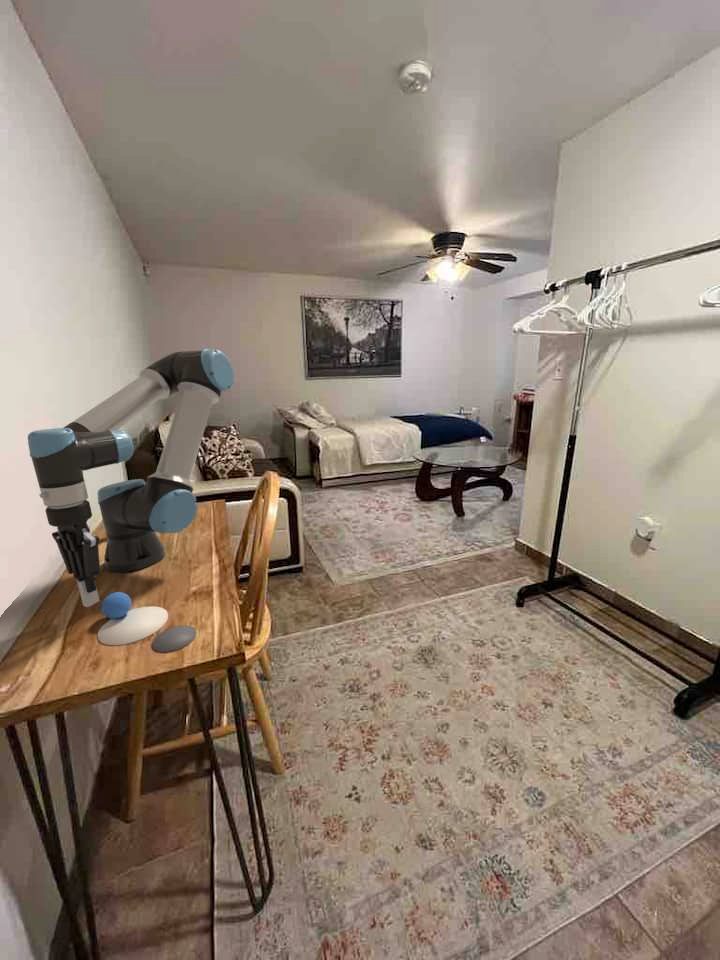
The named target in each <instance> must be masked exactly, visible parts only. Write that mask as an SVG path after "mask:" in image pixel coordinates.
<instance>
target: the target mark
mask: <svg viewBox="0 0 720 960" xmlns="http://www.w3.org/2000/svg"><path fill="white" fill-rule="evenodd" d="M168 619H169V611H168V610H166V609H165V608H163V607H160V606H141V607H137V608H133V609H130V610H129V611H128V613H127V614H126V615H124V616H123V617H120V618H117V619H111V618H110V619H109V620H108V621H107V622H105V623H104V624H103V625H101V627H100V629H99V630H98V632H97V640H98V641H99V642H100V643H101V644H103V645H108V646H123V645H127V644H132V643H135V642H139V641H141V640H144V639H146V638H148V637H151V635H153V634H155V633H156V632H158V631H159V630H161V629H162V628H163V627H164V626H165V625H166V623H167V622H168Z"/></svg>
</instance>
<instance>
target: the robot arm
mask: <svg viewBox="0 0 720 960" xmlns="http://www.w3.org/2000/svg"><path fill="white" fill-rule="evenodd" d="M234 381H235V373H234V369H233V366H232V363H231V361H230V358H229V357H227V355H226V354H225V353H224V352H222V351H221V350H219V349H209V348H203V349H201V350H186V351H175V352H172V353H170V354H167V355H165V356H162V357H161V358H160V359H158V360H156V361H154V362H153V363H151V364H150V365H149V366H147V367H145V368H144V369H142V370H141V371H140V372H139V377H137V378H136V379H135V380H133V381H132V382H130V383H129V384H127V385H125V386H124V387H122V388H121V389H120V390H118V391H117V392H115V393H114V394H112V395H110V396H109V397H108V398H106V399H105V400H102V401H101V402H100V403H99V404H97V405H96V406H94V407H92V408H91V409H89V410H88V411H86V412H85V413H84V414H82V415H80V416H79V417H78V418H76V419H74V420H73V421H72V422H70V423H68V424H66V425H65V426H64V427H60V428H59V427H56V428H46V429H39V430H38V429H37V430H33V431H31V432H29V433H28V435H27V445H28V450H29V451H28V452H29V456H30V458H31V461H32V464H33V467H34V468H33V469H34V472H35V475H36V479H37V483H38V486H39V490H40V494H39V495H38V496H39V498H41V499H42V502H43V505H44V506H45V514H46V518H47V523H48V524H49V526H51V527H57V531H54V532H52V533H51V536H52V538H53V540H54V541H55V543H56V545H57V548H58V550H59V553H60V555H61V557H62V560H63V563H64V565H65V568H66V570H67V572H68V574H69V575H72V574H73V578H74V579H76V582H77V586H78V590H79V593H80V598H81V602H82V605H83V607H86V608H89V607H91V606H93V605H95V604H97V603H99V602H100V601H101V600H100V596H99V593H98V588H97V584H96V580H95V577H96V576H98V575H100V574H101V567H100V566H101V565H100V555H99V552H100V551H99V544H100V537H99V536H98V535H95V536H93V535H92V533H90V532H91V530H90V527H89V525H88V521H89V520H90V519H91V518H92V517H93V513H92V507H91V503H90V501H88V500H87V499H88V498H89V495H88V490H87V485H86V483H85V478H84V471H88V470H92V469H97V468H101V467H105V466H109V465H115V464H116V465H117V464H120V463H123V462H126V461H128V460H131V458H132V456H133V455H134V451H135V449H134V444H133V443H134V442H133V440H132V438H131V437H130V435H129V434H128V433H127V432H125V431H123V430H120V429H121V428H122V427H124V426H125V425H126V424H128V423H129V422H130V421H132V420H133V419H135V417H137V416H138V415H140V414H141V413H142V412H144V411H145V410H147V409H148V408H149V407H150V406H151V405H153V404H154V403H156V402H157V401H159V400H165V399H168V397H170V396H171V395H175V394H178V393H180V396H179V400H178V402H177V405H176V409H175V412H174V415H173V419H172V422H171V424H170V427H169V430H168V433H167V437H166V440H165V443H164V445H163V446H164V447H163V448H162V449H163V450H162V452H161V455H160V458H159V461H158V465H157V468H156V471H155V472H154V473H153V474H150V475H148V476H147V478H146V481H145V480H144V479H142V478H138V479H135V478H134V479H131V480H130V479H129V480H125V481H121V482H116V483H111V484H108V485H105V486H103V487H101V488H99V489H98V491H97V501H98V502H97V504H98V505H99V509H100V514H101V518H102V522H103V526H104V532H105V535H106V547H105V552H104V553H105V554H104V558H103V562H104V567H105V569H106V570H107V571H109V572H112V573H126V572H132V571H138V570H141V569H144V568H147V567H150V566H152V565H155V564H157V563H159V562H160V561H161V560H163V559H164V557H165V556H164V555H166V551H165V546H164V544H163V542H162V540H161V539H160V537H159V536H158V534H163V535H164V534H177V533H180V532H183V531H184V530H185V529H188V527H189V526H190V525H191V524H192V523H193V521H194V519H195V517H196V515H197V512H198V511H197V510H198V503H197V498H196V496H195V495H194V494H193V493H194V492H193V491H194V486H193V485H192V484H191V477H192V474H193V471H194V467H195V464H196V459H197V457H198V454H199V451H200V447H201V443H202V440H203V436H204V432H205V430H206V426H207V423H208V419H209V416H210V412H211V409H212V406H213V405H214V404H218V402H220V397H221V395H222V392H225V391H228V390H230V389H231V388H232V387H233V384H234ZM157 533H158V534H157Z"/></svg>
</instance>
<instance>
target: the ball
mask: <svg viewBox="0 0 720 960" xmlns="http://www.w3.org/2000/svg"><path fill="white" fill-rule="evenodd" d="M131 608H132V600H131V597H130V596H129V594H126V593H125V592H122V591H117V592H112V593H110V594H108V595H107V596H106V597H105V598H104V600H103V601H102V603H101V612H102V614H103V615H104V616H105V617H107V618H108V619H110V620H111V619H117V618H120V617H123V616H124V615H126V614H127V613H128V611H130V610H131Z"/></svg>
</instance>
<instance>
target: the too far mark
mask: <svg viewBox="0 0 720 960" xmlns="http://www.w3.org/2000/svg"><path fill="white" fill-rule="evenodd" d="M196 637H197V630H196V628H195V627H193V626H191V625H185V624H184V625H183V624H182V625H175V626H172V627H168V628H166V629H165V630H163V631H162V632H160V633H158V634H157V635H156V636H155V638H153V640H152V642H151V648H152V649H153V650H154V651H155V652H158V653H172V652H175V651H178V650H180V649H183V648H184V647H187V646H188V645H189V644H191V643H192V642H193V641H194V640H195V639H196Z"/></svg>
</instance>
